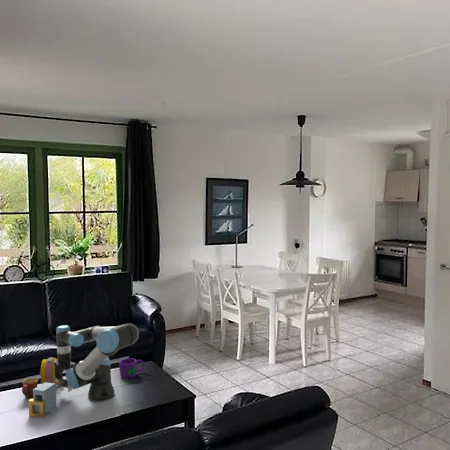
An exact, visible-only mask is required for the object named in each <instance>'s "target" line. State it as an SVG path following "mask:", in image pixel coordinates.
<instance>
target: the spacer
mask: <svg viewBox="0 0 450 450" xmlns="http://www.w3.org/2000/svg"><path fill="white" fill-rule="evenodd" d="M27 401H28V403H27V404H28V417H29V418H36V419H45V418H46V417H47V415H46V400H38V399H28V400H27ZM35 405H39V406H40V412H35Z"/></svg>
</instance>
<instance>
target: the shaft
mask: <svg viewBox="0 0 450 450" xmlns="http://www.w3.org/2000/svg"><path fill="white" fill-rule="evenodd" d="M62 387H64V389H65V388H66V389H68V383H67V379H66V375H65V376H64V375H63V376H62V378H60V383H59V382H58V384H56V392H57V391H60V388H62Z"/></svg>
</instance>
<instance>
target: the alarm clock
mask: <svg viewBox="0 0 450 450" xmlns="http://www.w3.org/2000/svg"><path fill="white" fill-rule="evenodd" d="M56 361H58V358H55V357H48V358H47V359H42V361H41V362H40V363H41V364H40V372H39V373H40V385H41V384H43V383H45V382H46V383H55V385H56V384H58V383H59V382H58V379H56V378H55V366H54V362H56Z"/></svg>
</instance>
